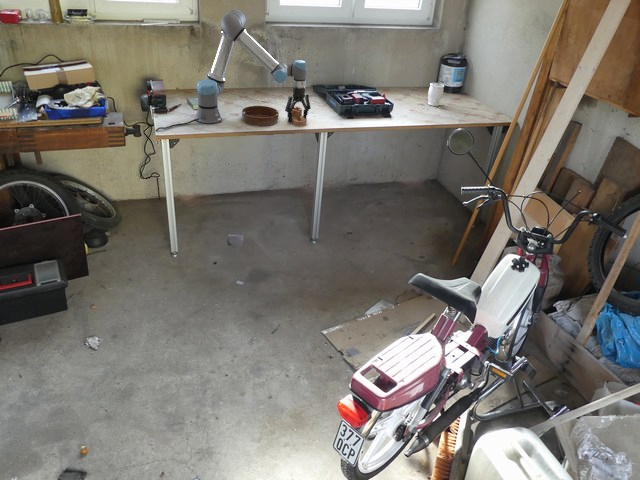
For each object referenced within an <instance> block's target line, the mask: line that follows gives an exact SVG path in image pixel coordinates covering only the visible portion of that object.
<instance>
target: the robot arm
mask: <svg viewBox="0 0 640 480" xmlns="http://www.w3.org/2000/svg"><path fill="white" fill-rule="evenodd" d="M220 26H221V29H220V32H221V39H220V41H219V43H218V47H217V49H216V52H215V53H216V54H215V57H214V59H213V63H212V66H211V70H209V71H208V72H207V73H206V77H205V79H203V80H200V81H198V82H197V87H196V90H197V105H198V107H197V110H196V111H197V112H196V114H195V119H193V120H189V121H187V122H184V123H175V124H172V125H167V126H165V127H164V126H161V127H157V128H156V130H155V132H158V131H159V130H166V129H170V128H172V127H176V126H184V125H189V124H191V123H193V122H197V123H200V124H207V125H208V124H209V125H210V124H212V125H213V124H217V123H220V122H221V121H222V117H221V116H222V115H221V113H220V109H219V107H218V105H219V104H218V103H219V102H218V101H219V100H218V98H219V96H220V95H221V94H222V93H223V91H224V89H225V84H226V81H227V79H226V76H225V75H226V72H227V69H228V66H229V63H230V61H231V57H232V54H233V51H234V48H235V45H236V43H238V44H239V45H240V46H241V47H242V49H244V50H245V51H246V52H247V53H248V54H249V55H250V56H251V57H252V58H253V59H254V60H256V61H257V63H259V64H260V66H262V67H263V68H264V69H265V70H266V71H267V72H268V73H269V74H271V76H272V77H273V79H274V81H275V82H276V83H278V84H282V83H284V82H285V81H286V80H287V78H288V77H292V78H293V84H292V95H288V96H287V97H288V99H287V103H286V104H285V105H286V106H285V109H284V111H285V112H286V113H287V118H288V120H287V121H288V123H289V124H293V123H292V113H291V111H292V109H293V108H295V107H296V106H295V105H296V104H297V103H301V104H302V106H303V108H304V109H303V111H302V116H303V117H304V118H305V119H306V120H307V116H308V114H309V111H310V110H311V103H310V95H309V94H308V93H306V80H307V61H305V60H302V59H301V60H300V59H297V60H294V63H289V62H278V61H277V60H276V59H274V57H273V56H272V55H271V54H270V53H269V52H268V51H266V49H265V48H263V47H262V45H260V44H259V43H258V42H257V41H256V40H255V39H254V38H253V36H251V35H250V34H249V33H248V32H247V29H246V28H245V27H246V17H245V15H244V13H242V12H241V11H240V10H237V9H233V10H232V9H231V10H229V11H228V12H227V13H226V14H224V15H223V16H222V18H221V20H220ZM159 183H160V182H159V177H158V176H157V177H156V186H157V187H156V188H157V197H158V201H161V193H160V184H159Z"/></svg>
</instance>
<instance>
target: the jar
mask: <svg viewBox="0 0 640 480" xmlns="http://www.w3.org/2000/svg"><path fill="white" fill-rule="evenodd" d="M444 88H445V84H444V83H441V82H430V83H429V88H428V92H427V95H428V96H427V100H428V102H427V105H429V106H432V107H438V106H440V102H441V100H442V99H443V96H444Z"/></svg>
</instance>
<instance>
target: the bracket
mask: <svg viewBox="0 0 640 480" xmlns="http://www.w3.org/2000/svg"><path fill="white" fill-rule="evenodd" d="M291 113H292V123H291V124H292V125H293V126H295V127H305V126H306V125H307V118H306V119H305V118H304V117H303V108H302V107H301V106H295V107H294V108H293V109H292V111H291Z"/></svg>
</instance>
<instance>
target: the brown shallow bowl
mask: <svg viewBox="0 0 640 480" xmlns="http://www.w3.org/2000/svg"><path fill="white" fill-rule="evenodd" d="M279 115H280V112H279V110H278V109H277V108H275V107H271V106H266V105H250V106H246V107H244V108H242V110H241V120H242V122H243V123H245V124H247V125H250V126H254V127H269V126H270V127H271V126H273V125H276V124H277V123H278V122H279V121H280V120H279V117H280V116H279Z"/></svg>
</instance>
